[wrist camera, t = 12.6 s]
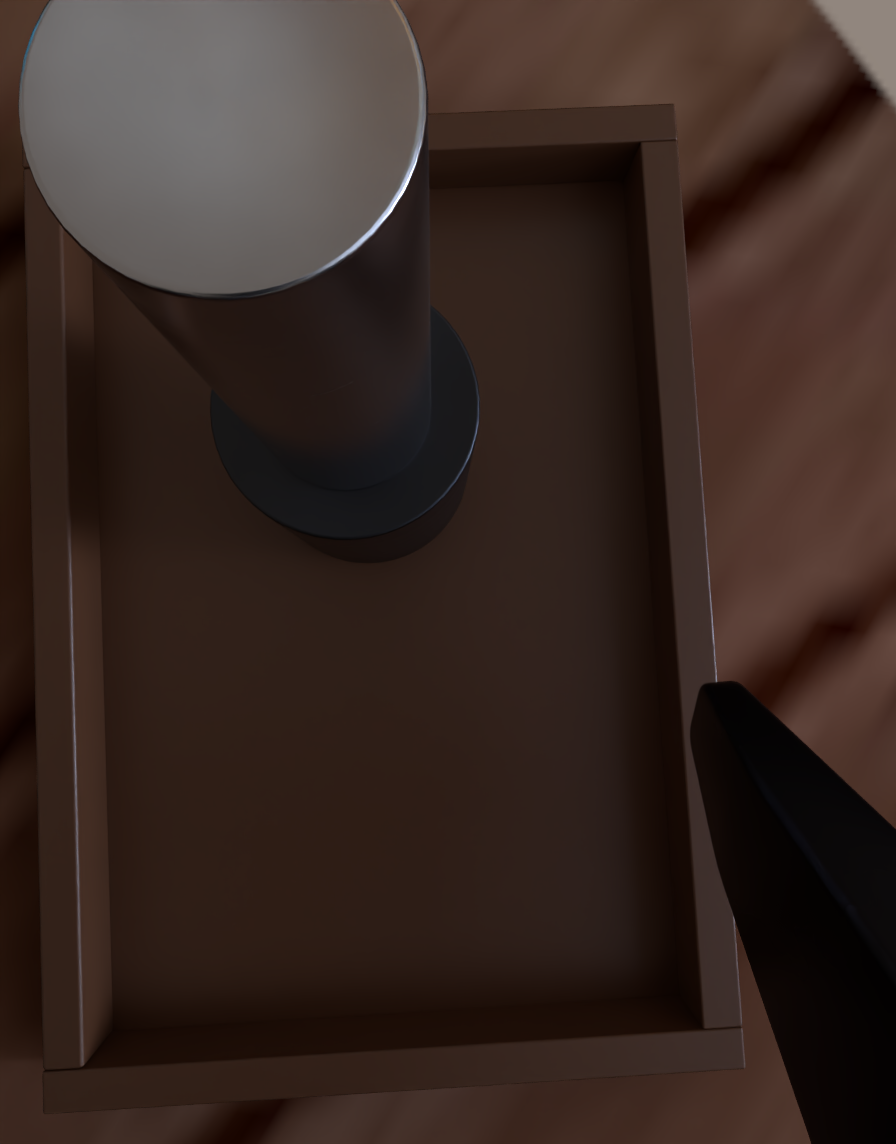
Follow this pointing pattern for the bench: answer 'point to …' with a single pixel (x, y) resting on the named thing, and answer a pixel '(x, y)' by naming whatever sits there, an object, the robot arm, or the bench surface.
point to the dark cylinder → (270, 241)
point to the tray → (387, 682)
